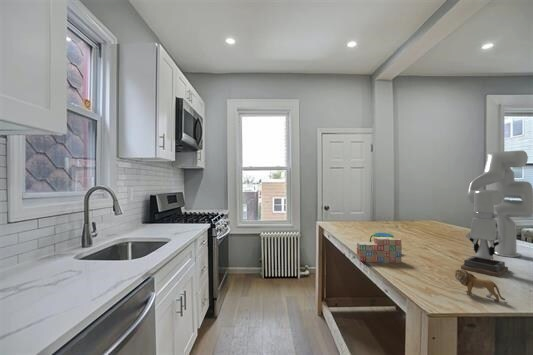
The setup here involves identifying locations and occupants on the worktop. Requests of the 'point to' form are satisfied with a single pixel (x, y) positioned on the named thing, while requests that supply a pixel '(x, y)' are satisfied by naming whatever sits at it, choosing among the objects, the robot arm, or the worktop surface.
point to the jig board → (484, 266)
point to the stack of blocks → (380, 250)
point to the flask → (484, 250)
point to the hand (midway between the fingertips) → (484, 253)
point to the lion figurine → (476, 283)
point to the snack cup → (381, 235)
